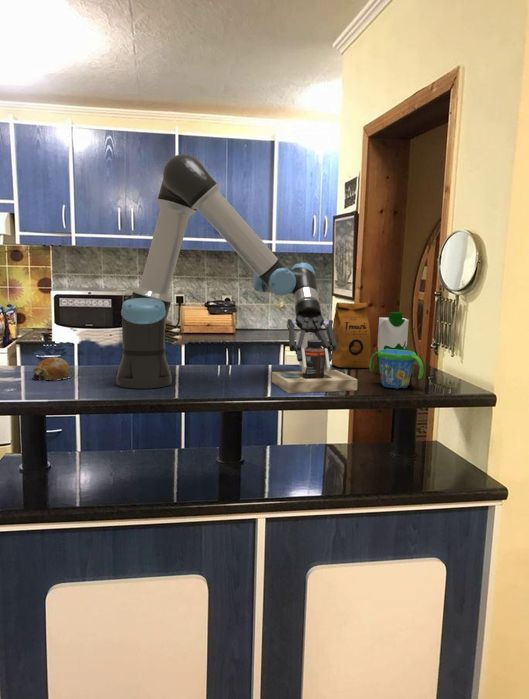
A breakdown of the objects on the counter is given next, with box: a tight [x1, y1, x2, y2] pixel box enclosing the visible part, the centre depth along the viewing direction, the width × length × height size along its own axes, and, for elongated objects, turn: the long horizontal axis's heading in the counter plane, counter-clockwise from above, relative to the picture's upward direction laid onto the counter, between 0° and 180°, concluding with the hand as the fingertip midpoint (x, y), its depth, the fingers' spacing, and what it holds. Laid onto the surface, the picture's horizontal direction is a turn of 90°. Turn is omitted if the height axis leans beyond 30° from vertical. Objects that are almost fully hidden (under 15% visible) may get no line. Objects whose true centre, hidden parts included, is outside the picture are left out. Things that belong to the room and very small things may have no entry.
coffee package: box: [331, 302, 372, 369], centre depth 193 cm, size 10×12×22 cm
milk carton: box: [376, 311, 410, 375], centre depth 181 cm, size 9×9×20 cm
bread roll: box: [33, 356, 72, 381], centre depth 165 cm, size 10×10×8 cm
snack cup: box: [368, 349, 424, 390], centre depth 163 cm, size 16×10×10 cm
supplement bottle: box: [303, 339, 325, 379], centre depth 161 cm, size 6×6×11 cm
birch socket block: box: [271, 369, 358, 394], centre depth 162 cm, size 20×15×3 cm
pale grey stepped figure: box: [294, 324, 314, 367], centre depth 194 cm, size 7×7×15 cm
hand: (316, 370), depth 158 cm, fingers closed on supplement bottle, 6 cm apart
